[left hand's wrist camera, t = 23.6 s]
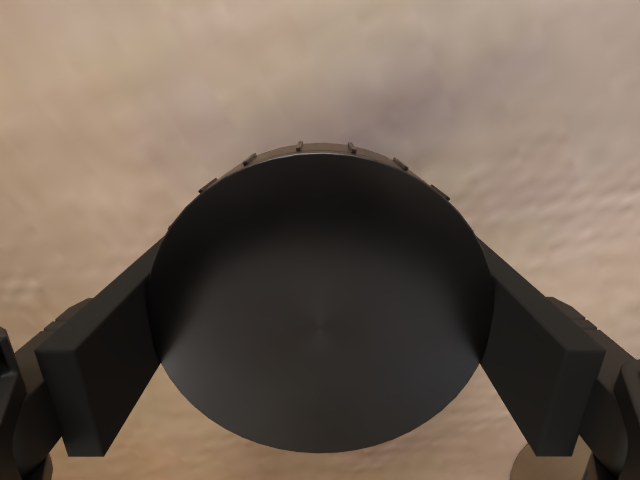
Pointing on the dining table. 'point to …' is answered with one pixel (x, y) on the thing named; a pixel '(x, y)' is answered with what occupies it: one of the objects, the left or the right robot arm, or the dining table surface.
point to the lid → (320, 299)
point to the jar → (551, 465)
